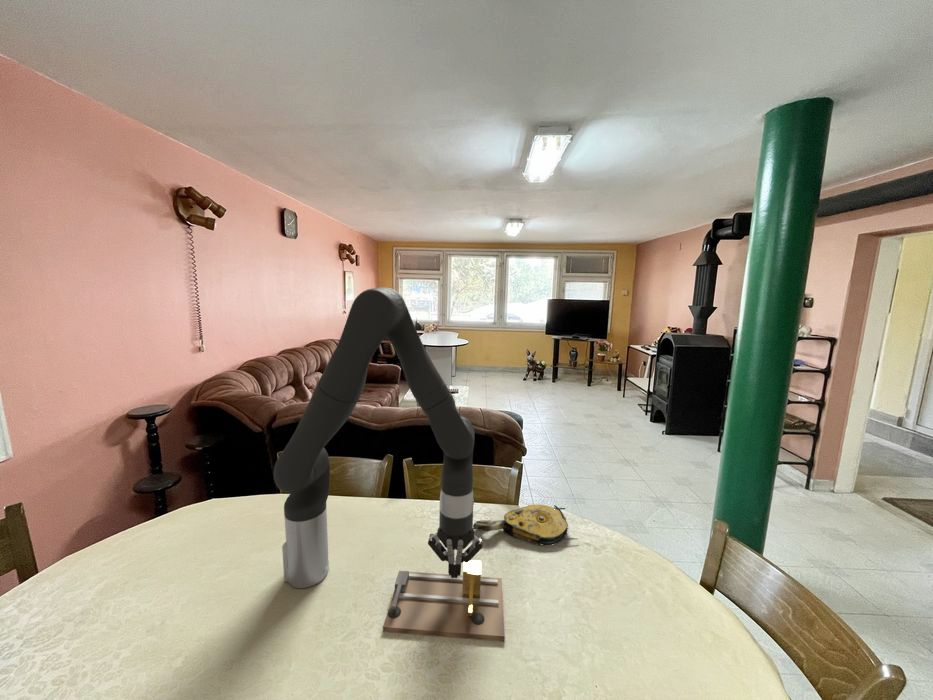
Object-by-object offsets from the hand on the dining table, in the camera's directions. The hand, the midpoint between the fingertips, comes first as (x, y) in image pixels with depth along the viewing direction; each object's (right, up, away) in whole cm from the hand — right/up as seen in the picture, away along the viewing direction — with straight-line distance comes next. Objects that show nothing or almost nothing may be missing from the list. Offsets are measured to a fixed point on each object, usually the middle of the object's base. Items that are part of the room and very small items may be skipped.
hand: (454, 575), depth 83 cm
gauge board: (-2, -6, -2) cm, 6 cm away
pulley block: (+19, -2, +25) cm, 31 cm away
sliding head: (+4, -4, -2) cm, 6 cm away
